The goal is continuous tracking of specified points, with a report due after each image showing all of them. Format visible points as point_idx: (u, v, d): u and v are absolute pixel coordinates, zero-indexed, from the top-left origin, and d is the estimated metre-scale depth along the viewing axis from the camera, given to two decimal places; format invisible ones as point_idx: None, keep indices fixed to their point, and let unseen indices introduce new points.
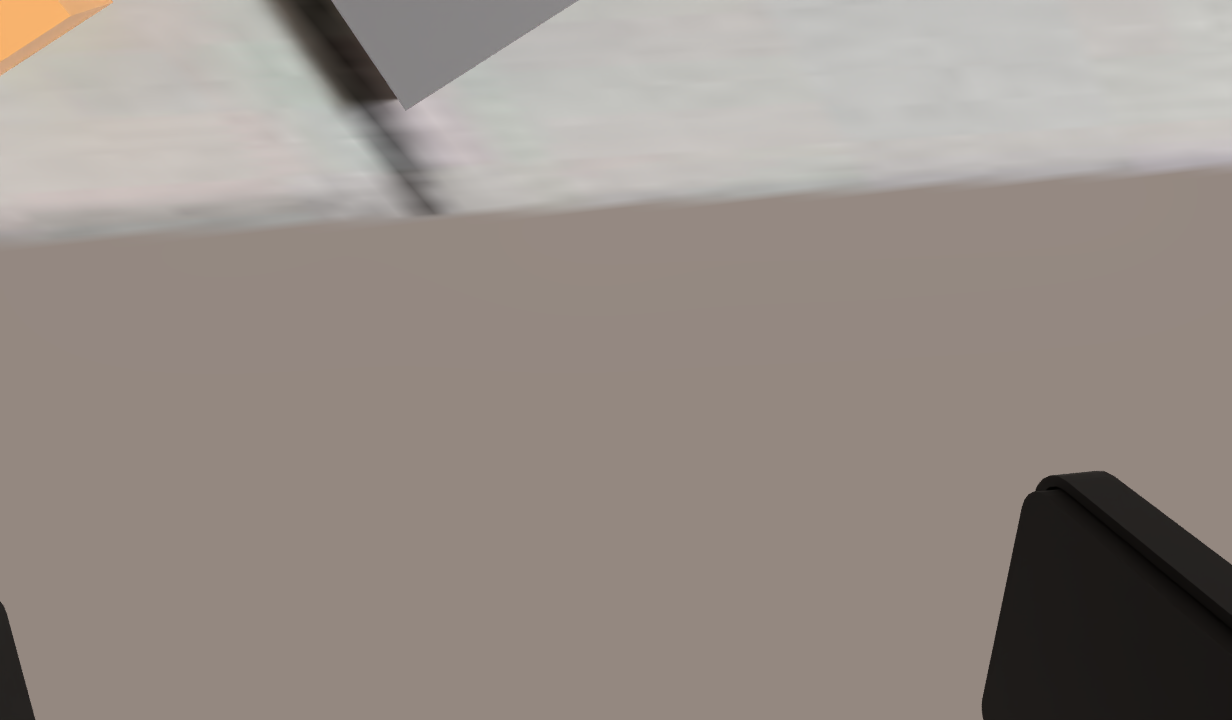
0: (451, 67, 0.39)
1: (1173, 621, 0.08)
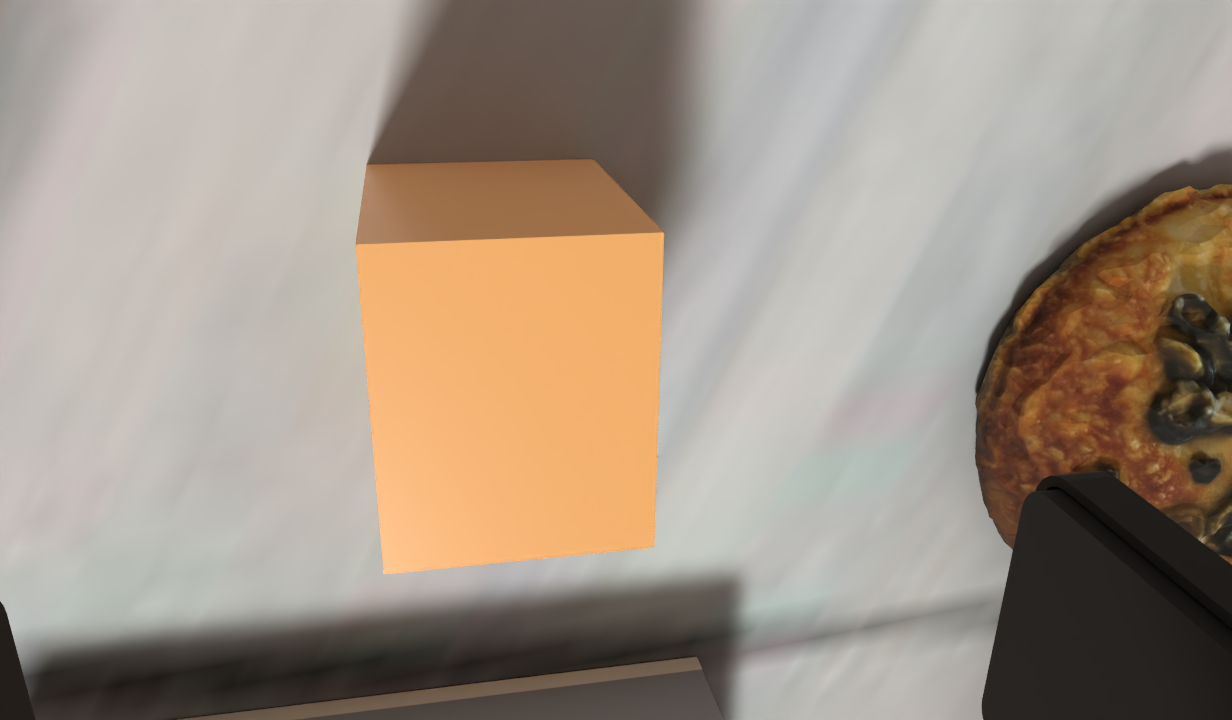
0: None
1: (1173, 621, 0.08)
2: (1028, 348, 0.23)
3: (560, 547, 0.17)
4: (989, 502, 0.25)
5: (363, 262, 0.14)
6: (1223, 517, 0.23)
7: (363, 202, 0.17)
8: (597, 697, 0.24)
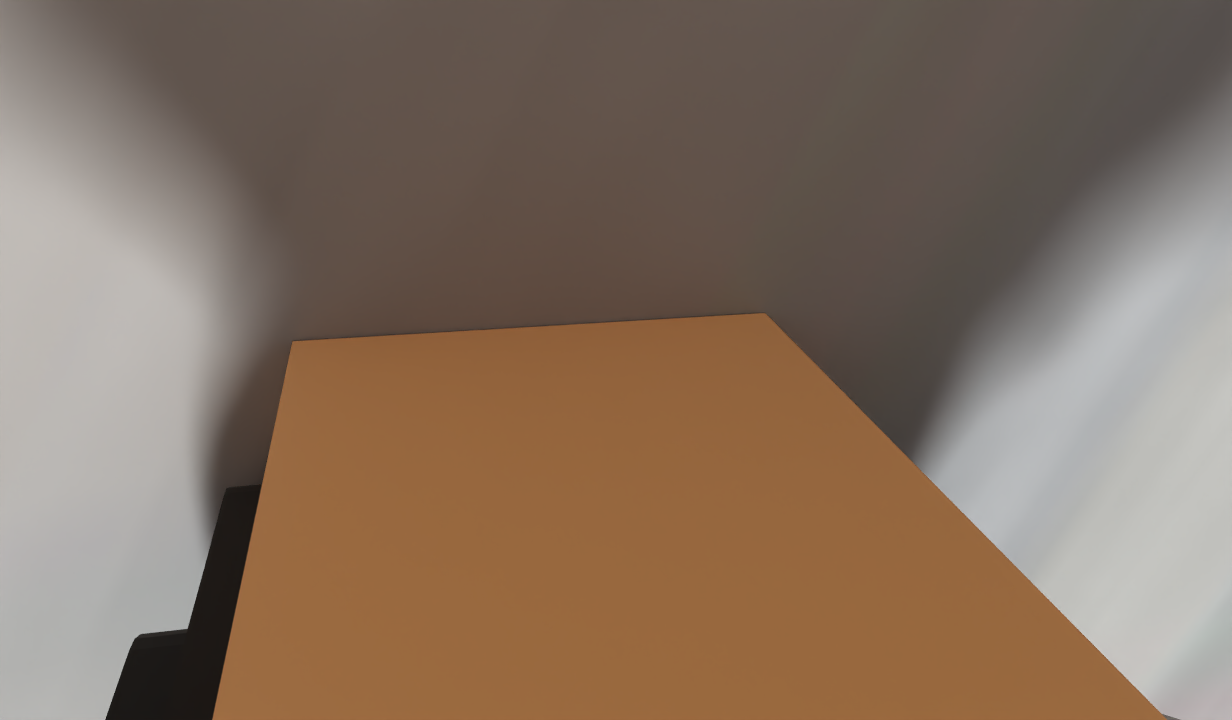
0: None
1: None
2: None
3: None
4: None
5: None
6: None
7: (254, 546, 0.06)
8: None
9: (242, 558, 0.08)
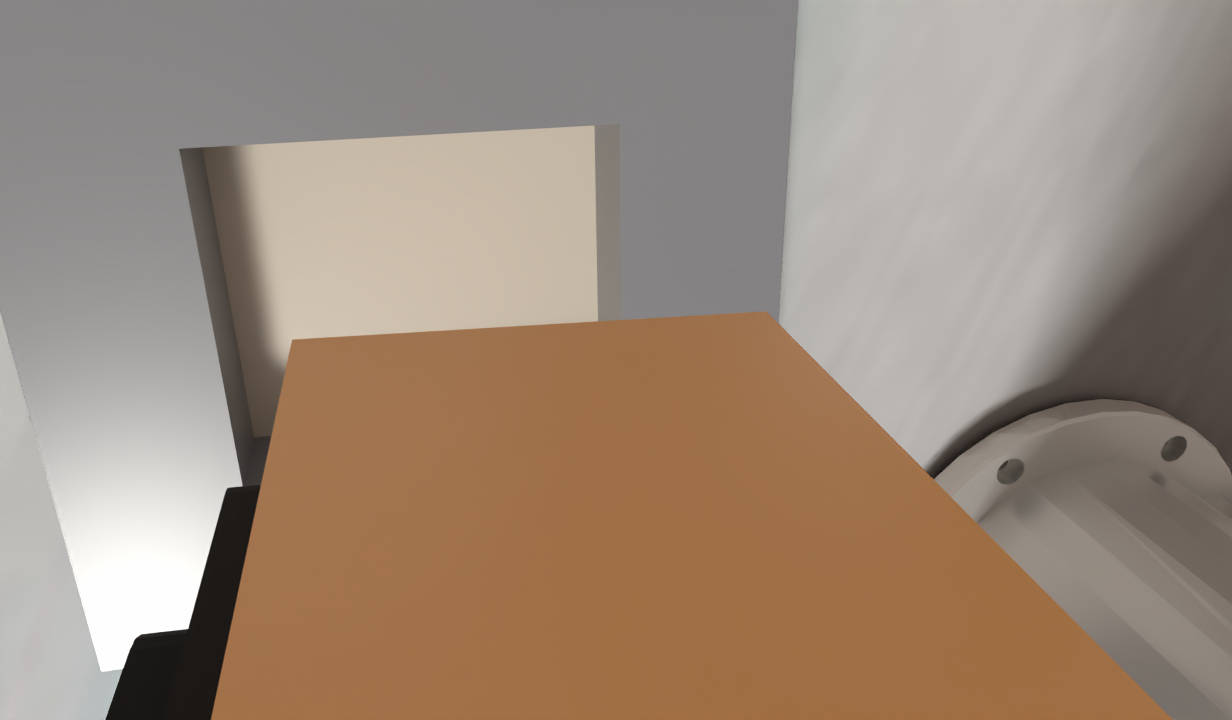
0: None
1: None
2: None
3: None
4: None
5: None
6: None
7: (253, 545, 0.06)
8: None
9: (242, 558, 0.08)
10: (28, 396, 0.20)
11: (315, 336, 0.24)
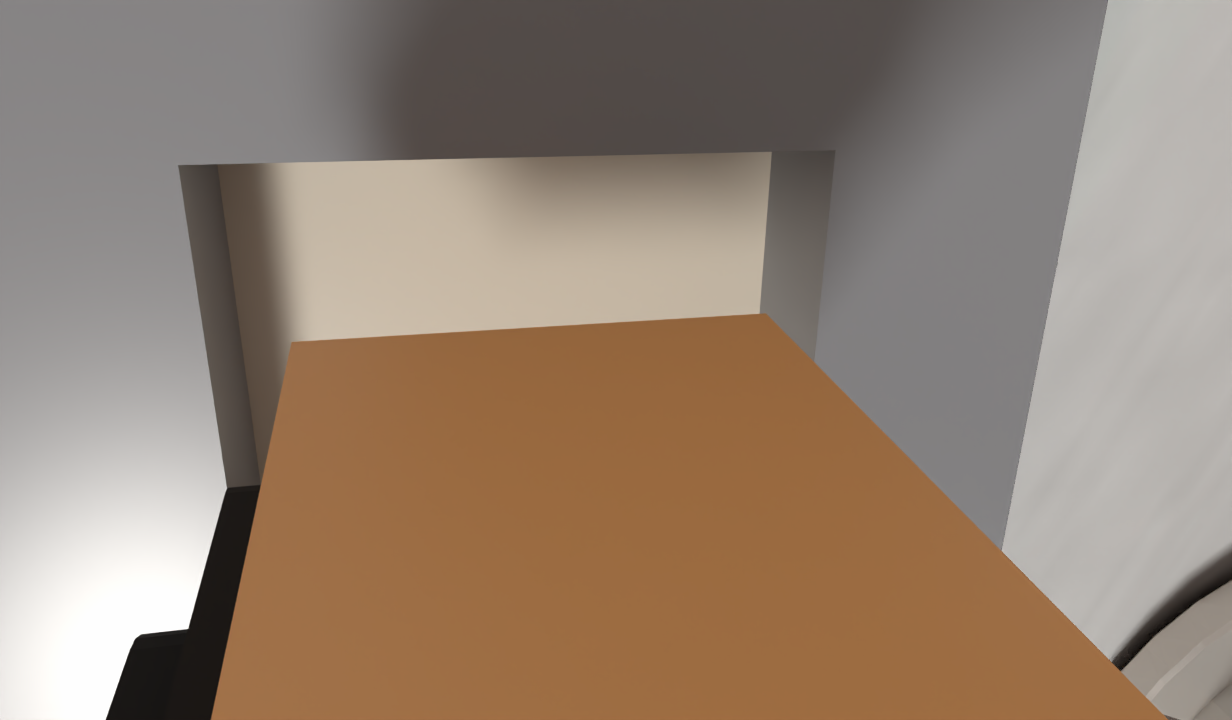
0: None
1: None
2: None
3: None
4: None
5: None
6: None
7: (252, 548, 0.06)
8: None
9: (242, 558, 0.08)
10: None
11: None
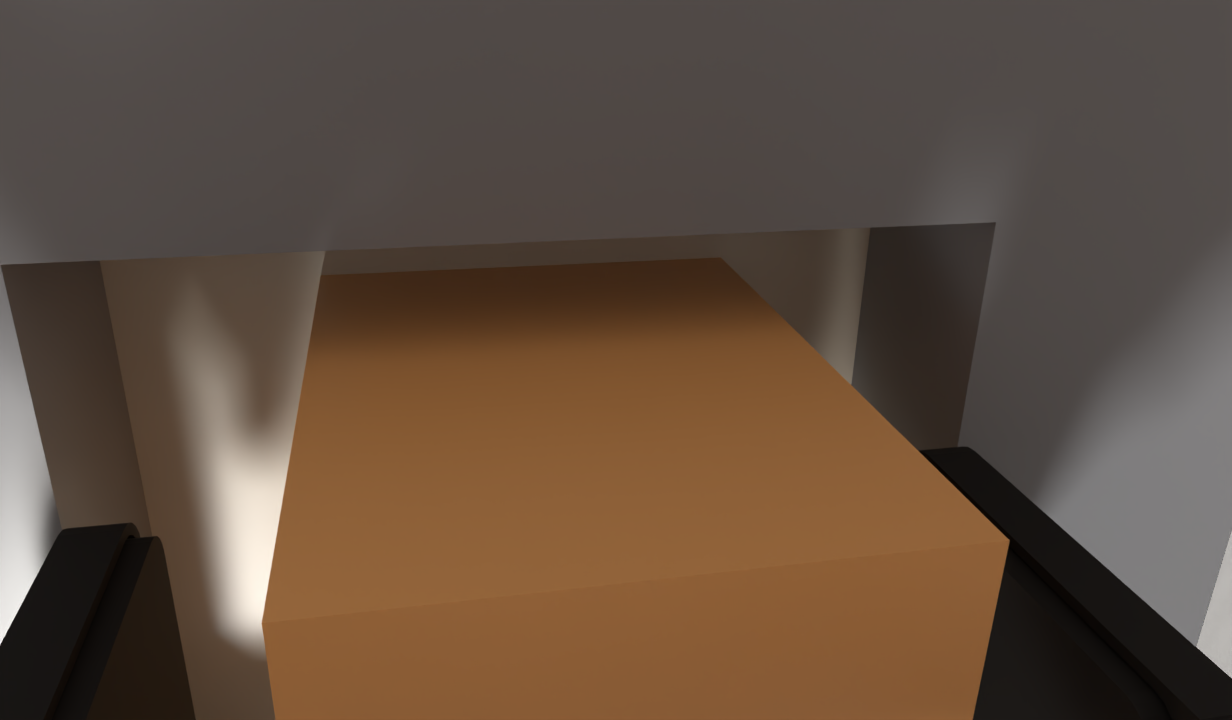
0: None
1: (1004, 584, 0.08)
2: None
3: None
4: None
5: (284, 658, 0.06)
6: None
7: (302, 410, 0.08)
8: None
9: (54, 612, 0.07)
10: None
11: None
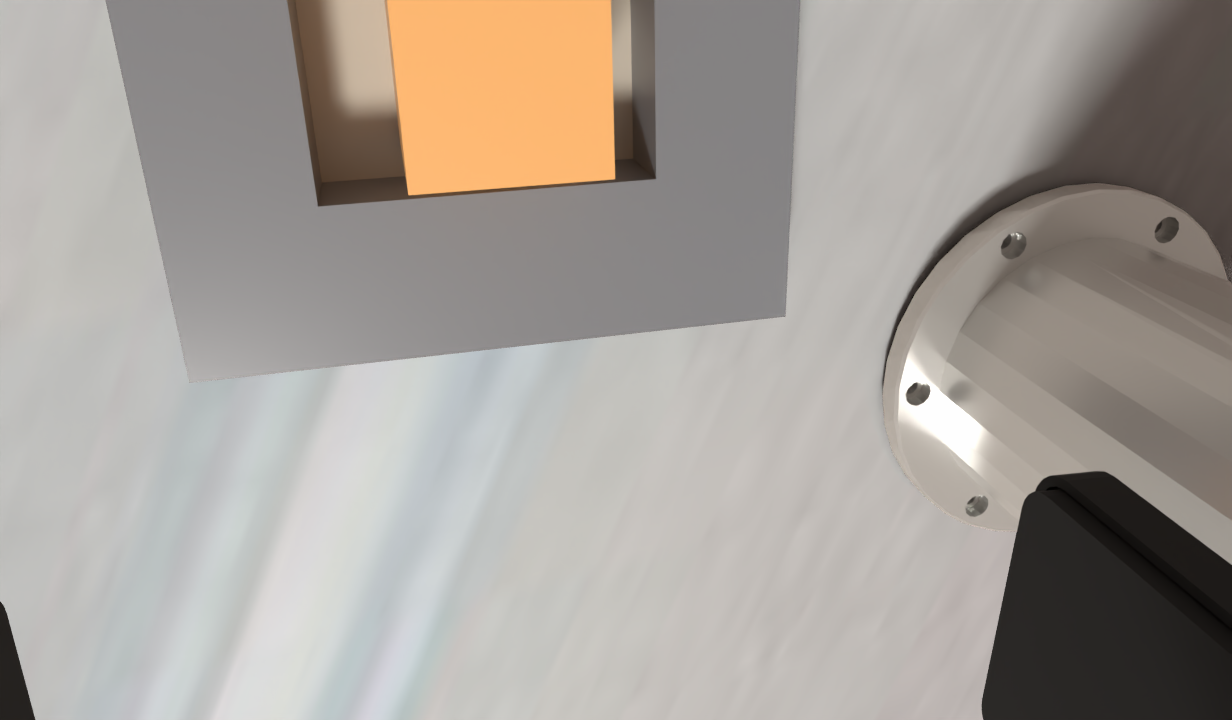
0: None
1: (1173, 621, 0.08)
2: None
3: (542, 176, 0.22)
4: None
5: None
6: None
7: None
8: None
9: None
10: (131, 100, 0.23)
11: (377, 83, 0.26)
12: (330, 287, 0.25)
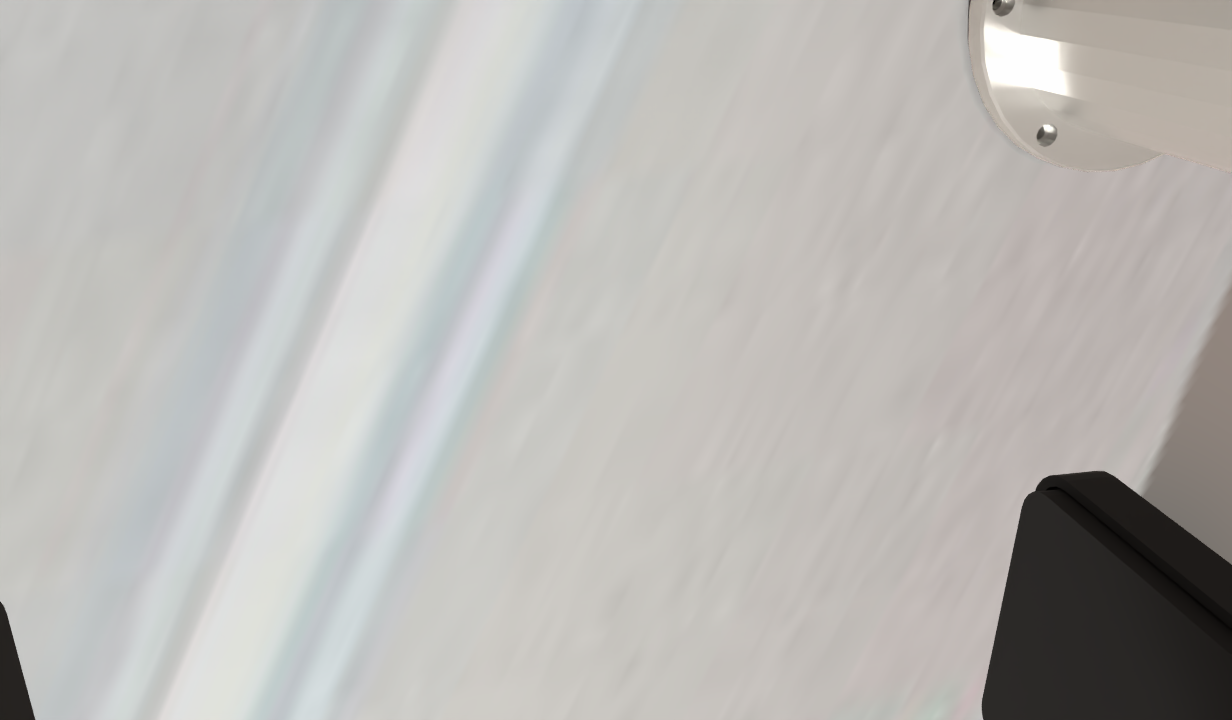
0: None
1: (1173, 621, 0.08)
2: None
3: None
4: None
5: None
6: None
7: None
8: None
9: None
10: None
11: None
12: None
